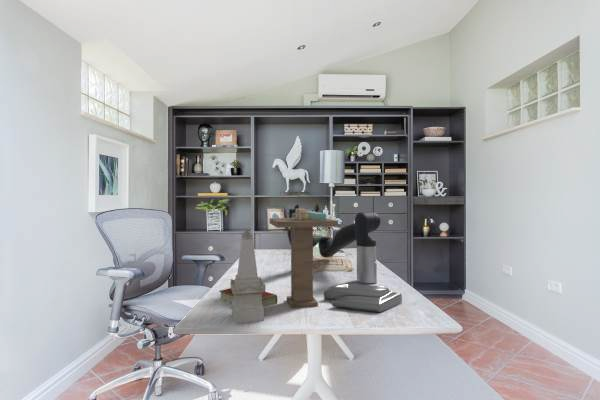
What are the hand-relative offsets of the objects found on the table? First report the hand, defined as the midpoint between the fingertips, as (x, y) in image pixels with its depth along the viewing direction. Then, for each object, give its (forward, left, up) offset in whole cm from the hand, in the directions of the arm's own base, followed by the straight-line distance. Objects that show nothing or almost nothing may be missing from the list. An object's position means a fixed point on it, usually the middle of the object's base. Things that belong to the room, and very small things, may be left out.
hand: (307, 206), depth 149 cm
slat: (-3, +9, -5) cm, 11 cm away
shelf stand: (0, +17, -37) cm, 40 cm away
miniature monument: (+16, +35, -37) cm, 53 cm away
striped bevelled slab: (-23, +12, -37) cm, 45 cm away
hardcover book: (+21, +17, -37) cm, 46 cm away
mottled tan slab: (-4, -55, -38) cm, 67 cm away
